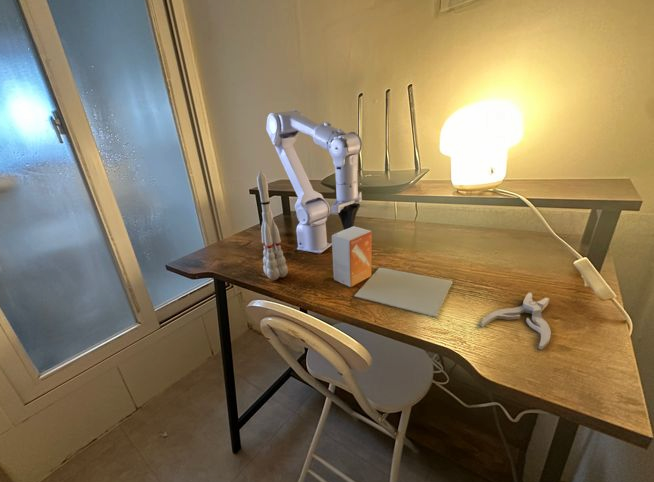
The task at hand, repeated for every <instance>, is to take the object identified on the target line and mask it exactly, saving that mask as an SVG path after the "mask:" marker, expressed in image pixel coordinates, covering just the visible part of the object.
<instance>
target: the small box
mask: <svg viewBox="0 0 654 482" xmlns="http://www.w3.org/2000/svg"><path fill="white" fill-rule="evenodd" d="M331 243H332V245H331V250H332V252H331V253H332V266H333V267H332V269H333V280H334V281H336V282H337V283H338V282H339V283H340V284H342V285H345V286H347V287H349V288H352V287H354V286H356V285H357V284H359V283H361V282H363V281H365V280H367V279H370V277H371V276H372V260H373V259H372V256H373V254H372V249H373V231H372V230H371V229H366V228H362V227H358V226H355V225H353V227H351V228H348V229H345V230H344V229H343V230H340V231H338V232H336V233H333V234H331Z"/></svg>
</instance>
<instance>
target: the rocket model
mask: <svg viewBox="0 0 654 482" xmlns="http://www.w3.org/2000/svg"><path fill="white" fill-rule="evenodd" d="M256 183H257V189H258V191H259V197H260V203H261V204H260V205H261V210H262V212H261V216H262V222H261V227H260V231H261V243H262V244H263V251H262V253H263V257H262V264H263V268H262V269H263V273H264V274H265V276H267V278H268V279H270V281H277V280H278V279H279V278H285V277H286V276H287V275H288V272H289V267H288V266H287V262H286V261H287V260H286V257H285V255H284V252H283V250H282V247H281V243H282V240H281V239H282V238H281V236H280V231H279V228H278V226H277V224H276V222H275V219H274V216H273V212H272V209H271V203H270V202H271V201H270V197H269V184H268V183H269V182H268V178H267V176H266V174H264V172H263V171H262V170H261V169H259V172H258V174H257V176H256Z"/></svg>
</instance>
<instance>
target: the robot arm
mask: <svg viewBox="0 0 654 482" xmlns="http://www.w3.org/2000/svg"><path fill="white" fill-rule="evenodd" d="M265 130H266V132H267V134H268V137H269V139H270V141H271V143H272V145H273V146H274V148H275V151H276V153H277V156H278V158H279V160H280V162H281V164H282V166H283V169H284V171H285V173H286V175H287V177H288V179H289V181H290V183H291V185H292V187H293V191H294V192H295V194H296V196H297V200H296V202H295V204H294V206H293V207H294V209H295V212H296V217H297V220H298V222H299V223H298V224H297V226H296V231H295V233H296V240H297V241H296V242H297V247H296V250H297V251H305V252H308V253H309V252H311V253H315V254H322V253H323V252H324V251H326V250H328V249H329V248H330V247H332V242H328V238H327V237H328V236H327V224H326V222H327V221H328V217H329V216H330V214H331V213H332V214H337V215H338V217H339V219H340V222H341V224H342V227H343V230H345V229H348V228H351V227H353V226H355V220H356V216H357V213H358V211H359V209H360V207H361V202H363V197H362V195H363V194H362V191H359V188H358V187H359V184H358V183H359V182H358V181H359V180H358V176H359V175H358V155H359V154H360V152H361V151H362V147H363V143H362V142H363V141H362V138H361V136H360V135H359V134H357V132H355V131H350V132H347V133H346V132H345V130H344V129H343V128H337V127H335V126H333V125H332V122H330V121H324V122H321V123H319V124H318V123H317V122H316V121H313V120H312V119H310V118H308V117H307V116H306V115H304V114H303V112H302V111H298V110H297V109H291V110H288V111H281V112H270V113H269V114H268V115H267V117H266V127H265ZM300 133H303V134H305V135H307V136H309V137H312V141H313V142H314V144H315V145H317V146H319V147H321V148H322V149H324V150H326V151H327V152H329V155H330V156H331V158H332V165H333V166H334V173H335V190H336V191H335V193H336V198H335V200H334V203H333V204H331V206H330V204H329V202H328V201H327V200H326V199H325V198H324V195H323V194H322V193H320V192H318V191H316V190H314V189H313V185H312V183H311V182H310V179H309V177H308V175H307V173H306V171H305V169H304V166H303V164H302V162H301V160H300V158H299V156H298V154H297V152H296V149H295V147H294V144H295V143H296V142H297V140H298V137H299V134H300Z"/></svg>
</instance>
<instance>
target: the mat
mask: <svg viewBox="0 0 654 482" xmlns="http://www.w3.org/2000/svg"><path fill="white" fill-rule="evenodd" d="M452 285H453V280H450V279H445V278H439V277H434V276H429V275H423V274H418V273H412V272H407V271H401V270H396V269H392V268H391V269H390V268H385V267H378V268H377V270H376V271H375V272H373V274H371V277H369V278H368V280H367V281H366V282H365V283H364V284H363V285H362V286H361V287H360V289H358V291H357V292H356V293H355V294H354V296H353V297H354V298H358V299H362V300H366V301H369V302H374V303H377V304H380V305H381V304H382V305H386V306H390V307H394V308H396V309H397V308H398V309H402V310H405V311H409V312H413V313H417V314H421V315H424V316H429V317H432V318H437V316H438V313H439V312H440V309H441V307H442V305H443V303H444V301H445V299H446V297H447V295H448V292H449V290H450V288H451V286H452Z"/></svg>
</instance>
